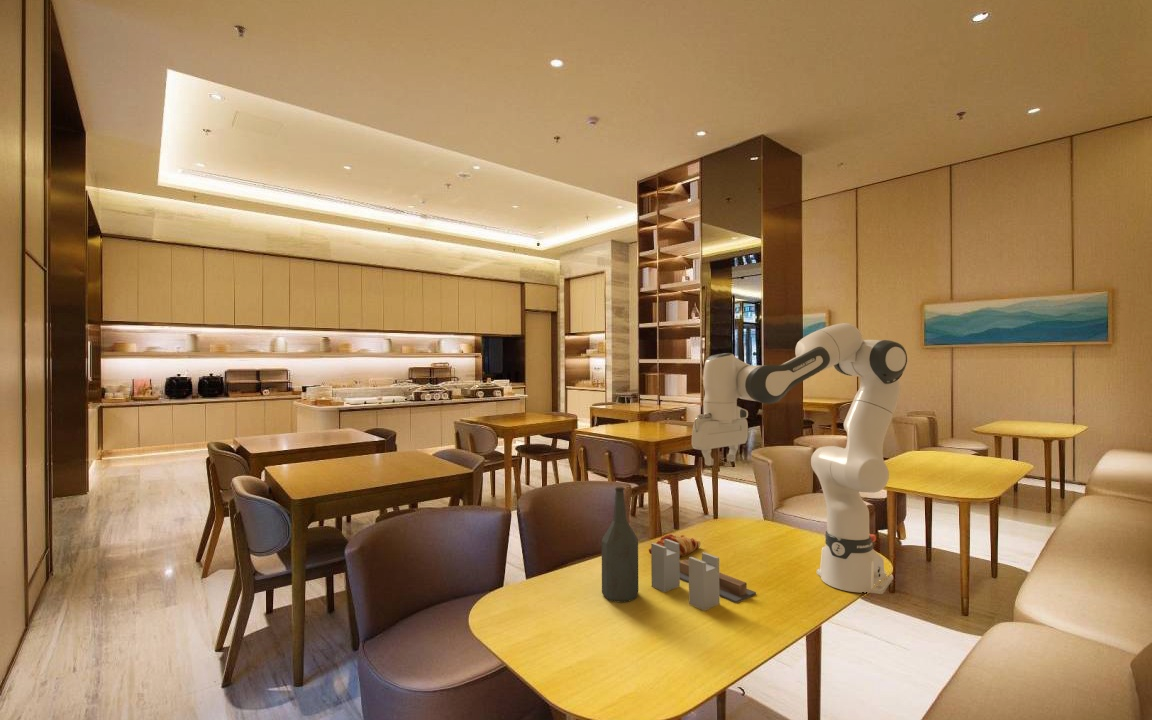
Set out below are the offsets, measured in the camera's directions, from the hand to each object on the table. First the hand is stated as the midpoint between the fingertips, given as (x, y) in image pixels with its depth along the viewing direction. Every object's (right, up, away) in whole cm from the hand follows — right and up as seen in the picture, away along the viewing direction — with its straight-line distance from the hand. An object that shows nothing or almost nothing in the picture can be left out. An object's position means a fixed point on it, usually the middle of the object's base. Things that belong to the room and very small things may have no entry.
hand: (720, 463), depth 143 cm
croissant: (-6, -38, +35) cm, 52 cm away
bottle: (-27, -38, +3) cm, 46 cm away
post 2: (-5, -37, -3) cm, 38 cm away
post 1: (-14, -37, +8) cm, 40 cm away
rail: (0, -37, +9) cm, 38 cm away
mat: (0, -37, +9) cm, 38 cm away
